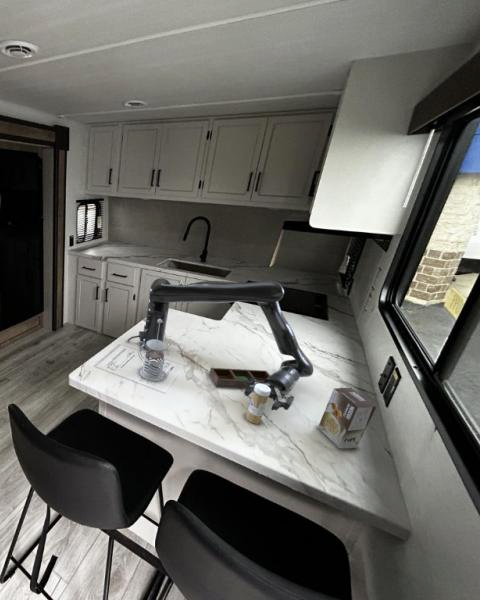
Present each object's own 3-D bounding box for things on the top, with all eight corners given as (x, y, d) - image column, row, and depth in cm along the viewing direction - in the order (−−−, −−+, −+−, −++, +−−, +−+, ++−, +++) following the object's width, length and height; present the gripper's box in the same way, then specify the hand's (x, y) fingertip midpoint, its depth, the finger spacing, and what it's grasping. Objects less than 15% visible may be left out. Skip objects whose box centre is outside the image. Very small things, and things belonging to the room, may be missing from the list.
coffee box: (358, 448, 98) (378, 407, 92) (339, 449, 97) (358, 407, 91) (334, 426, 106) (351, 387, 100) (316, 426, 106) (332, 387, 100)
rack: (274, 390, 123) (276, 382, 122) (216, 387, 124) (217, 379, 122) (263, 377, 131) (266, 370, 129) (208, 374, 131) (210, 367, 130)
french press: (159, 384, 124) (169, 327, 114) (132, 374, 129) (139, 319, 120) (167, 372, 131) (176, 318, 122) (141, 363, 137) (148, 310, 128)
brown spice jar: (242, 415, 109) (252, 383, 104) (254, 414, 110) (264, 382, 105) (251, 425, 105) (262, 392, 100) (263, 423, 106) (274, 391, 101)
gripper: (261, 365, 118) (240, 380, 109) (304, 384, 108) (285, 403, 98) (256, 381, 121) (235, 398, 111) (298, 402, 111) (278, 422, 101)
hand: (259, 400), depth 105 cm, fingers open, 8 cm apart
